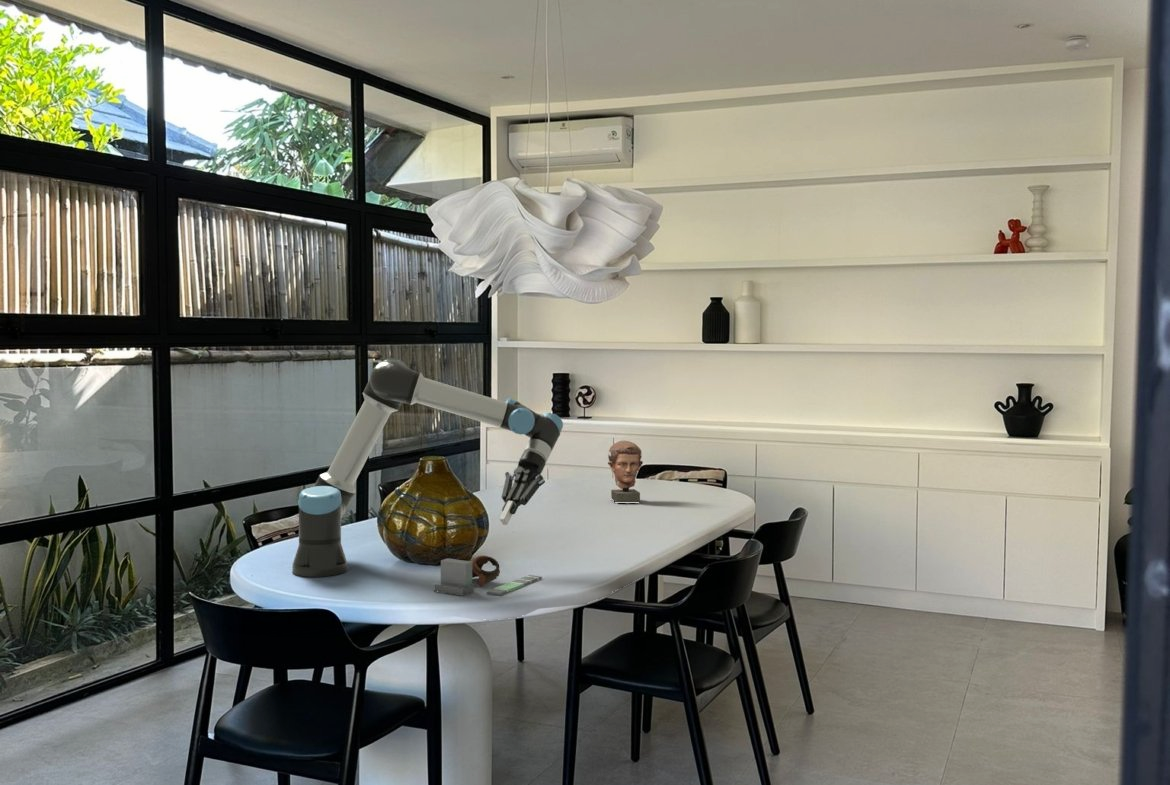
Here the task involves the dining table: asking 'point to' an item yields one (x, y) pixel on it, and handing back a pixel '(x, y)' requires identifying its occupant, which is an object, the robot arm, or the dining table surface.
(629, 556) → the dining table surface
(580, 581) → the dining table surface
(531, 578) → the gauge strip
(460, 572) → the striated grey slab
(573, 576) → the dining table surface
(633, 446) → the bust
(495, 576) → the pottery mug
